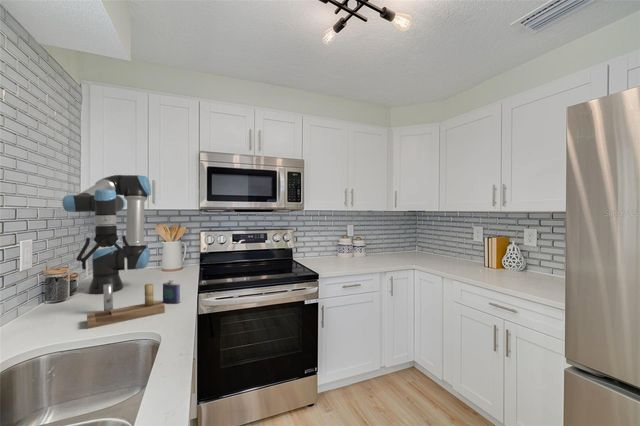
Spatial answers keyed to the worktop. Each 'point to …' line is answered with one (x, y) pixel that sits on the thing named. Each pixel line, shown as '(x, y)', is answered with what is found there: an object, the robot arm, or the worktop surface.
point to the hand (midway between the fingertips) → (107, 274)
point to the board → (127, 311)
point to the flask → (171, 293)
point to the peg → (108, 297)
